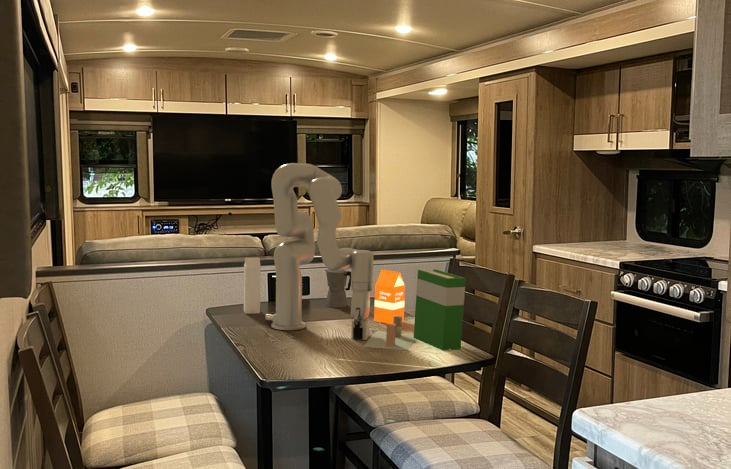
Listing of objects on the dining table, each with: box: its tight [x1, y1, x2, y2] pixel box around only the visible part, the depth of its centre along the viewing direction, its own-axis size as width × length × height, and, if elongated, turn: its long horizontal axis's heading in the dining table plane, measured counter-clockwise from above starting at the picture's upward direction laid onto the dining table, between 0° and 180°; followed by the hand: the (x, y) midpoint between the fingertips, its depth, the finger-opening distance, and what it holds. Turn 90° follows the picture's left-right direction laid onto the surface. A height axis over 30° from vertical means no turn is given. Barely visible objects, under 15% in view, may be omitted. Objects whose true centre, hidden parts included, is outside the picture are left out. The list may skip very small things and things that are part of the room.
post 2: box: [393, 315, 403, 337], centre depth 239 cm, size 3×3×7 cm
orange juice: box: [373, 269, 406, 324], centre depth 261 cm, size 8×9×20 cm
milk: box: [243, 257, 262, 314], centre depth 272 cm, size 6×6×22 cm
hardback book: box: [413, 269, 467, 351], centre depth 231 cm, size 18×7×24 cm, turn 28°
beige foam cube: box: [350, 318, 371, 341], centre depth 236 cm, size 5×5×7 cm
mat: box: [362, 330, 416, 351], centre depth 233 cm, size 15×22×1 cm
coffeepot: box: [325, 268, 351, 309], centre depth 288 cm, size 15×9×18 cm, turn 51°
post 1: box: [386, 323, 396, 347], centre depth 227 cm, size 3×3×7 cm
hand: (360, 335), depth 236 cm, fingers open, 7 cm apart
